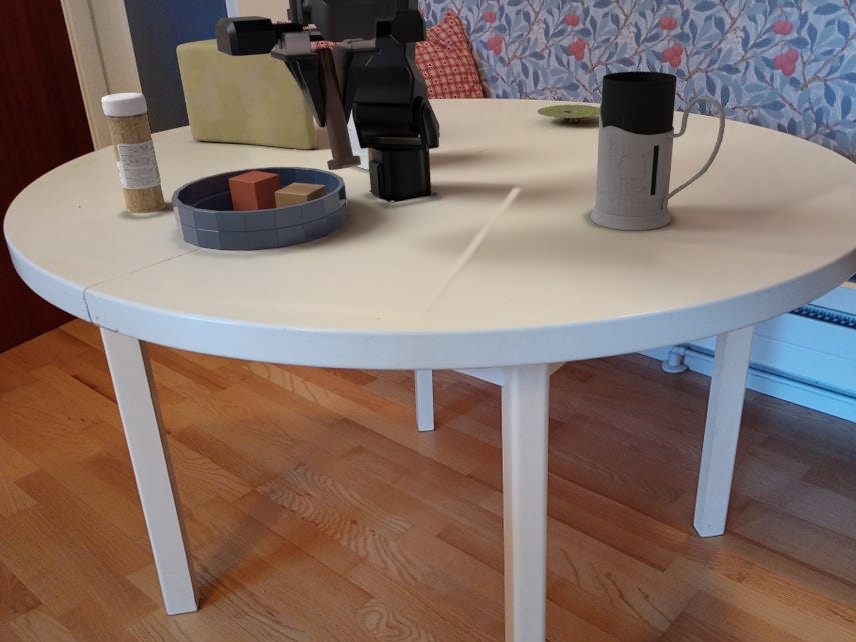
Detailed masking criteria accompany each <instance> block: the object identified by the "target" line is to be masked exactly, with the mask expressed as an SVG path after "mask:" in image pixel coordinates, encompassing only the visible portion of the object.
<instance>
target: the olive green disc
mask: <svg viewBox="0 0 856 642" xmlns="http://www.w3.org/2000/svg"><path fill="white" fill-rule="evenodd" d="M536 112H537V114H539V115H541V116H543V117H545V116H546V117H551V118H552V117H553V118H564V121H565V122H569V123H571V124H572V123H573V122H574V123H577V121H578V118H590V117H597V116H600V106H599V107H598V106H592V105H586V104H559V105H558V104H557V105H550V106H545V107H541V108H538V109H537V111H536Z"/></svg>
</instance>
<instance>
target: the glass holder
mask: <svg viewBox="0 0 856 642" xmlns="http://www.w3.org/2000/svg"><path fill="white" fill-rule="evenodd" d="M677 80H678V77H677V75H675V74H671V73H667V72H660V71H645V70H644V71H639V70H638V71H619V72H613V73H608V74H604V75H603V76H602V90H601V102H600V105H599V108H600V115H599V117H598V118H599V120H598V141H597V161H596V162H597V163H596V164H597V165H596V186H595V205H594V208H593V211H592V213H591V215H590V218H591V221H592V222H594V223H595V224H597V225H598V226H601V227H604V228H608V229H612V230H613V229H614V230H620V231H648V230H655V229H658V228H662V227H665V226H667V225H669V224H670V222H671V214H670V212H669V207H668V206H669V205H668V204H669V200H670V199H671V198H673V196H675V195H676V194H678V193H680V192H681V191H682V190H684V189H685V188H687V187H688V186H690V185H691V184H692V183H694V182H695V181H696V180H698V179H699V178H700V177H702V176H703V175H704V174H706V172H708V170H709V168H710V167H711V165H712V164H713V163H714V161H715V159H716V157H717V155H718V153H719V150H720V148H721V145H722V143H723V139H724V134H725V128H726V112H725V110H724V107H723V105H722V103H720V102H719V101H718V100H717V99H715V98H713V97H712V96H708V95H702V96H697V97H695V98H694V99H692V100H690V102H689V103H688V104H687V105H686V107H685V109H684V111H683V113H682V118H681V125H680V130H679V132H677V133H675V127H674V117H675V116H674V115H675V104H676V103H675V102H676V93H677V92H676V91H677ZM701 101H707V102H709V103H710V104H713V105H714V106H715V108H716V109H717V112H718V115H719V127H718V132H717V139H716V142H715V145H714V147H713V150H712V152H711V154H710V156H709V157H708V159H707V161H706V162H705V164H704V165H703V166H702V168H701V169H700V170H699V171H698V172H696V174H695V175H693V176H692V177H691V178H689V179H688V180H687V181H686V182H683V184H681V185H679V186H678V187H676V188H675V189H674V190H672V191H671V192H670V185H671V184H670V182H671V170H672V159H673V158H672V157H673V150H674V149H673V148H674V138H675V139H676V138H679V137H682V136H683V135H684V134H685V132H686V131H687V127H688V120H689V119H688V118H689V114H690V112H691V110H692V108H693V107H694V106H695V104H697V103H698V102H701Z"/></svg>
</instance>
